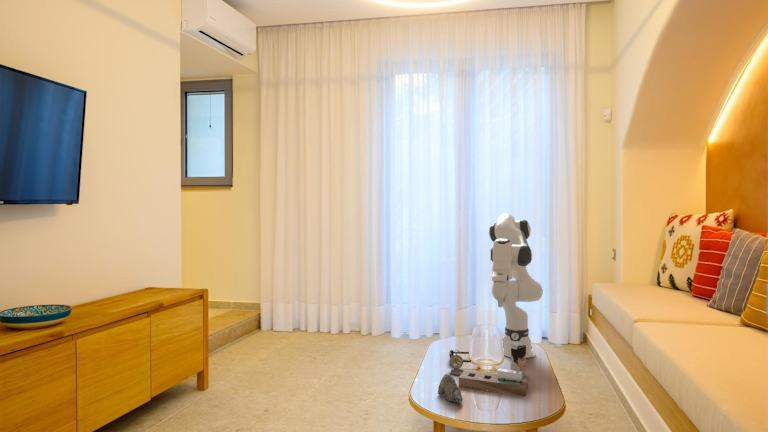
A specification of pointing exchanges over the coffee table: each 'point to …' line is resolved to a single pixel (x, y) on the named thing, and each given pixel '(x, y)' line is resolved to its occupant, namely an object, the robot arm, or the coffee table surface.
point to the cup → (518, 357)
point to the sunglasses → (458, 353)
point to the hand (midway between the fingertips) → (502, 304)
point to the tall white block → (510, 375)
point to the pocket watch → (456, 367)
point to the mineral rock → (450, 389)
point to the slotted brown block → (492, 383)
